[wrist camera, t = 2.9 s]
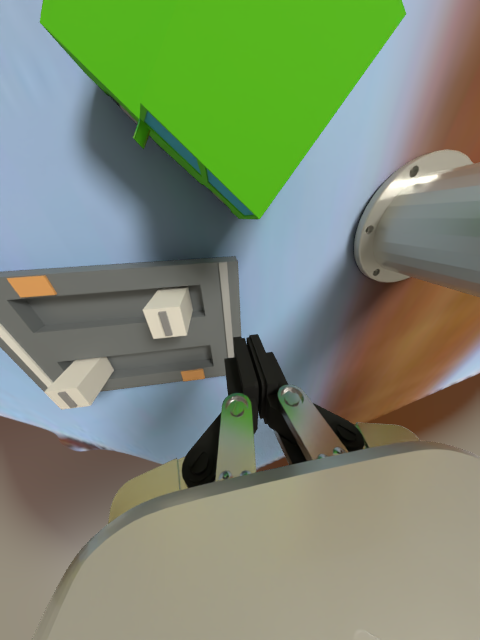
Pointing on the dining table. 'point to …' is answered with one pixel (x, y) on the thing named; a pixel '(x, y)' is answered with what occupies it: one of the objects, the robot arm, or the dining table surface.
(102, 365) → the tab
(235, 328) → the switch board
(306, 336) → the dining table surface
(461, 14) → the dining table surface
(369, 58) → the toy car
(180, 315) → the tab
